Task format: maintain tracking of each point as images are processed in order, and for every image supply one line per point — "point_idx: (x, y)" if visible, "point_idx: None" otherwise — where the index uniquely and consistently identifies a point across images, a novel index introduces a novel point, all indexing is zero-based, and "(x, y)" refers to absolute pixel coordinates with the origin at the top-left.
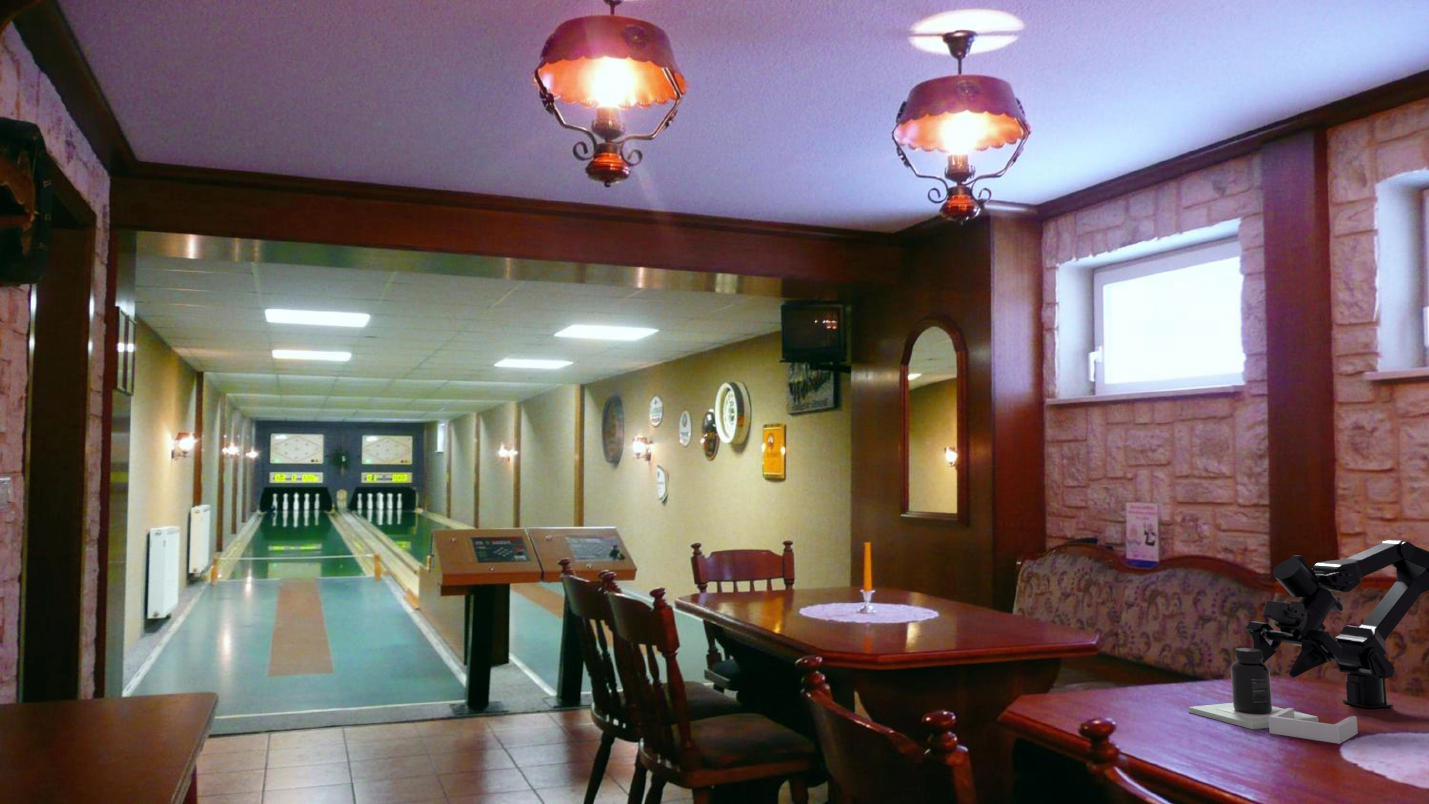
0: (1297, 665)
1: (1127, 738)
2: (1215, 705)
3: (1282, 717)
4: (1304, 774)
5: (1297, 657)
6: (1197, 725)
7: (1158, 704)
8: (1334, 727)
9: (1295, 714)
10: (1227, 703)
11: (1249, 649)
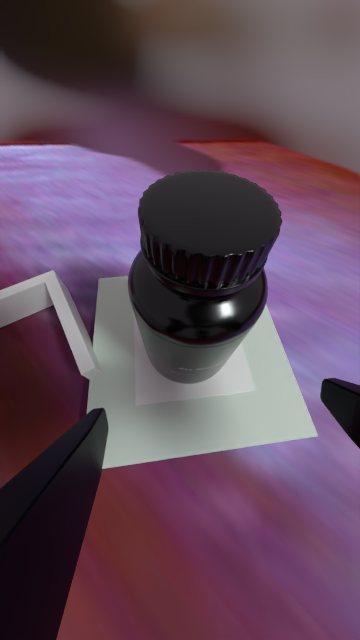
0: (44, 451)
1: (128, 162)
2: (261, 314)
3: (31, 285)
4: None
5: (30, 503)
6: None
7: (315, 265)
8: None
9: (130, 426)
10: (282, 352)
11: (212, 210)
